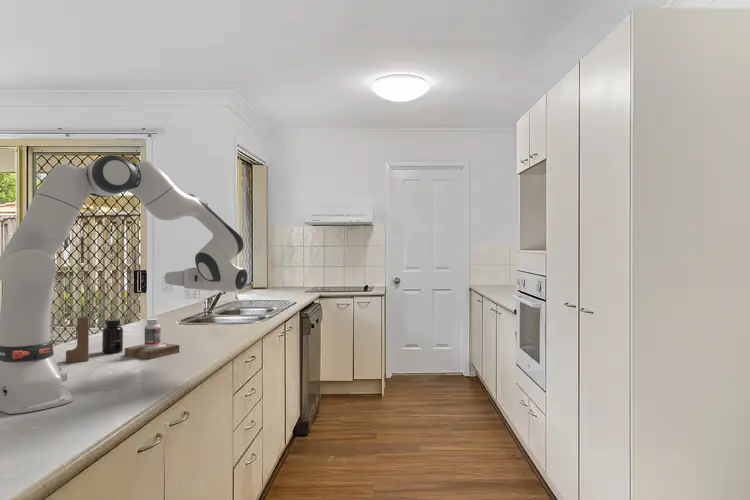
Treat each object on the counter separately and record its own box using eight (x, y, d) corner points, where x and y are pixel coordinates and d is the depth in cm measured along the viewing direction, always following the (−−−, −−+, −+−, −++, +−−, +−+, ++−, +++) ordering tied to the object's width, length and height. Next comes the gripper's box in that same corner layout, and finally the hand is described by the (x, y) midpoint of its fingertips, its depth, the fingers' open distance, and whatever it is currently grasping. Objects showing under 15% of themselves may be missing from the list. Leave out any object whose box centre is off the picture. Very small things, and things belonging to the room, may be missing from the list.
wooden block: (88, 359, 176) (88, 316, 176) (88, 361, 173) (88, 317, 173) (66, 360, 173) (66, 317, 173) (65, 362, 170) (65, 318, 170)
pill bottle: (157, 346, 183) (158, 320, 183) (142, 347, 182) (142, 320, 182) (162, 344, 188) (162, 317, 188) (147, 344, 188) (147, 318, 187)
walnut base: (179, 352, 188) (179, 344, 188) (150, 359, 177) (150, 350, 177) (154, 348, 194) (154, 340, 194) (124, 355, 182) (124, 347, 182)
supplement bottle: (116, 354, 184) (116, 321, 184) (98, 353, 184) (98, 321, 184) (126, 350, 191) (126, 318, 191) (108, 350, 191) (108, 318, 191)
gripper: (227, 267, 183) (198, 266, 189) (183, 269, 165) (153, 268, 171) (227, 285, 183) (198, 283, 189) (183, 288, 165) (153, 286, 171)
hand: (177, 276), depth 180 cm, fingers open, 8 cm apart
